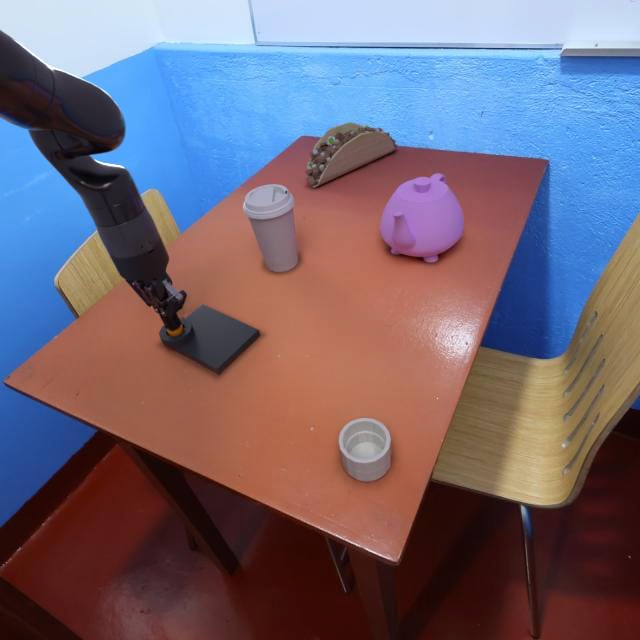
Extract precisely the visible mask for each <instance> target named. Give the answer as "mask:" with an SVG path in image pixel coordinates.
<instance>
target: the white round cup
mask: <svg viewBox="0 0 640 640" xmlns="http://www.w3.org/2000/svg"><path fill="white" fill-rule="evenodd" d="M390 434H391V433H390V431H389V429H388V428H387V427H386V426H385V425H384V423H383V422H381V421H379V420H377V419H375V418H369V417H360V418H356V419H353V420H351V421H349V422H348V423H346V424H344V426H343V428H341V430H340V431H339V436H338V446H339V451H340V456H341V461H342V467H343V469H344V471H345V472H346V473H347V474H348V475H349V476H350V477H352V478H353V479H355V480H357V481H360V482H363V483H364V482H365V483H367V482H369V483H370V482H376V481H377V480H380V479H381V478H382V477H384V476H385V475H386V474H387V473H388V471H389V469H390V468H391V466H392V461H393V453H392V437H391V435H390Z"/></svg>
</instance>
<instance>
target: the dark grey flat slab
mask: <svg viewBox="0 0 640 640" xmlns="http://www.w3.org/2000/svg"><path fill="white" fill-rule="evenodd" d="M179 319H180V321H181V324H182V326H183V328H184V331H183V332H182V333H181V334H179V335H176V336H169V334H168V332H167V328H166V327H165V325H164V324H163V325H162V326H161V328H160V329H159V332H158V335H159V339H160V341H161V343H162V345H163V346H166V347H167V348H169V349H171V350H173V351H175V352H177V353H179V354H181V355H182V356H183V357H186V358H188V359H189V360H191V361H193V362H195V363H197V364H199V365H200V366H202V367H204V368H206V369H207V370H210V371H211V372H213V373H215V374H217V376H220V375H221V374H222V373H223V372H224V371H226V369H227V368H228V367H229V366H230V365H231V364H232V363H233V362H235V360H236V359H238V358H239V356H241V355H242V354H243V353H244V352H245V351H246V350H247V349H248V348H250V346H251V345H253V343H255V341H256V340H257V339H259V337H261V333H260V330H259V329H258V328H256V327H254V326H252V325H249V324H247V323H244V322H243V321H241V320H238V319H236V318H234V317H231V316H229V315H227V314H226V313H223V312H220V311H219V310H216V309H214V308H212V307H211V306H208V305H205V304H202V303H201V305H199V306H198V307H197V308H196V309H194V311H192V312H191V313H190V314H188V315H187V316H186V317H184V318H179Z"/></svg>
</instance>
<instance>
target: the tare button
mask: <svg viewBox="0 0 640 640" xmlns="http://www.w3.org/2000/svg"><path fill="white" fill-rule="evenodd" d="M183 331H184V328H183V326H182V324H181V326H180V327H178V328H177V329H176V330H175V331H170V330H168V329H167V332H168V334H169V336H176V335H179V334H181V333H182V332H183Z"/></svg>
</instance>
